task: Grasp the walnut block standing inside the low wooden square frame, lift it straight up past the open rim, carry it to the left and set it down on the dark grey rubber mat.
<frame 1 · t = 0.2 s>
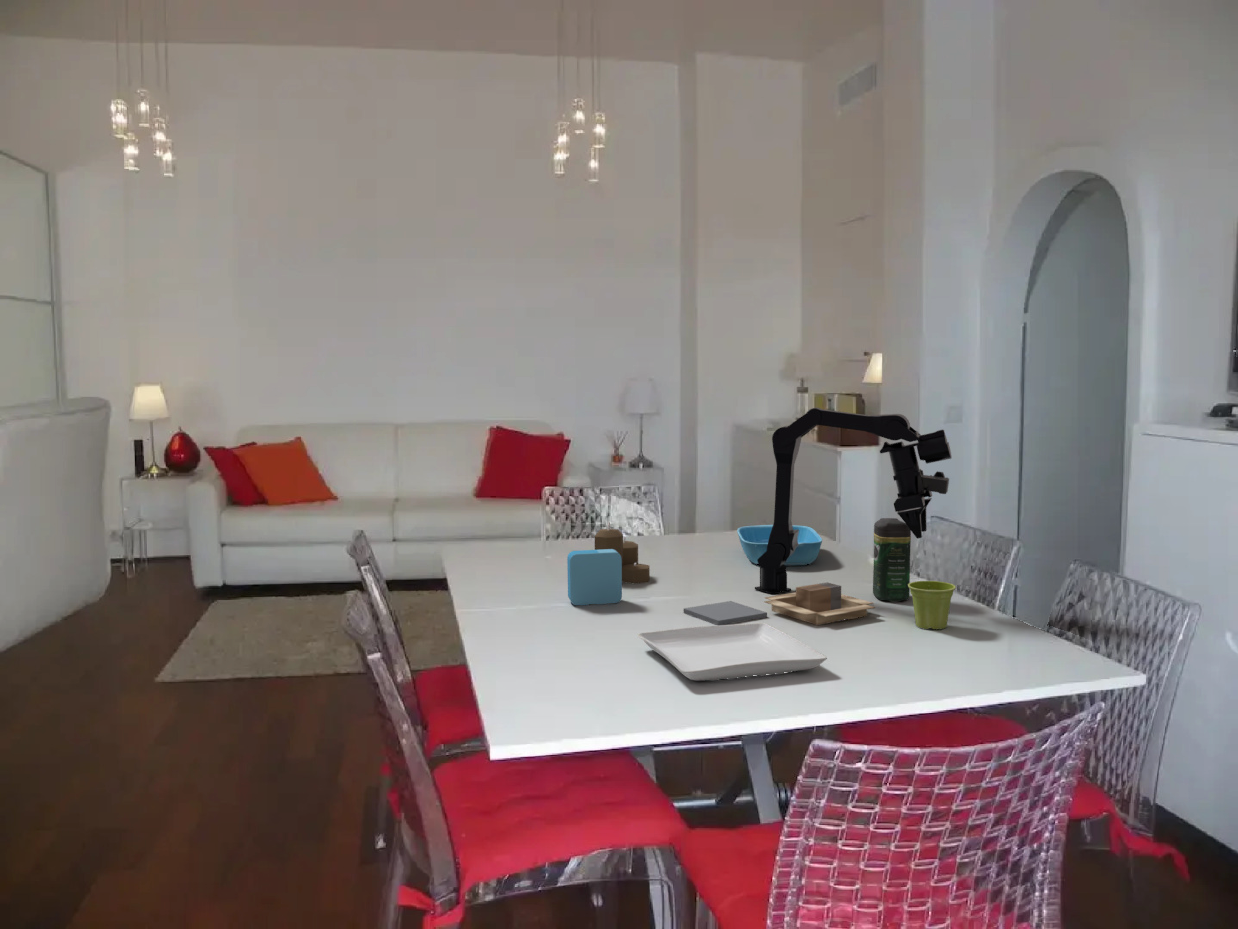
hand: (921, 534, 233), 15 cm above the table, tool pointing down, fingers open, 9 cm apart
candle: (619, 579, 262), on the table
casserole dish: (778, 558, 290), on the table
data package: (594, 603, 237), on the table
wooden square frame: (818, 613, 224), on the table
block: (818, 600, 224), in the wooden square frame
plant pot: (930, 627, 212), on the table
mat: (724, 615, 224), on the table
coffee jar: (891, 598, 238), on the table
square plate: (728, 664, 190), on the table
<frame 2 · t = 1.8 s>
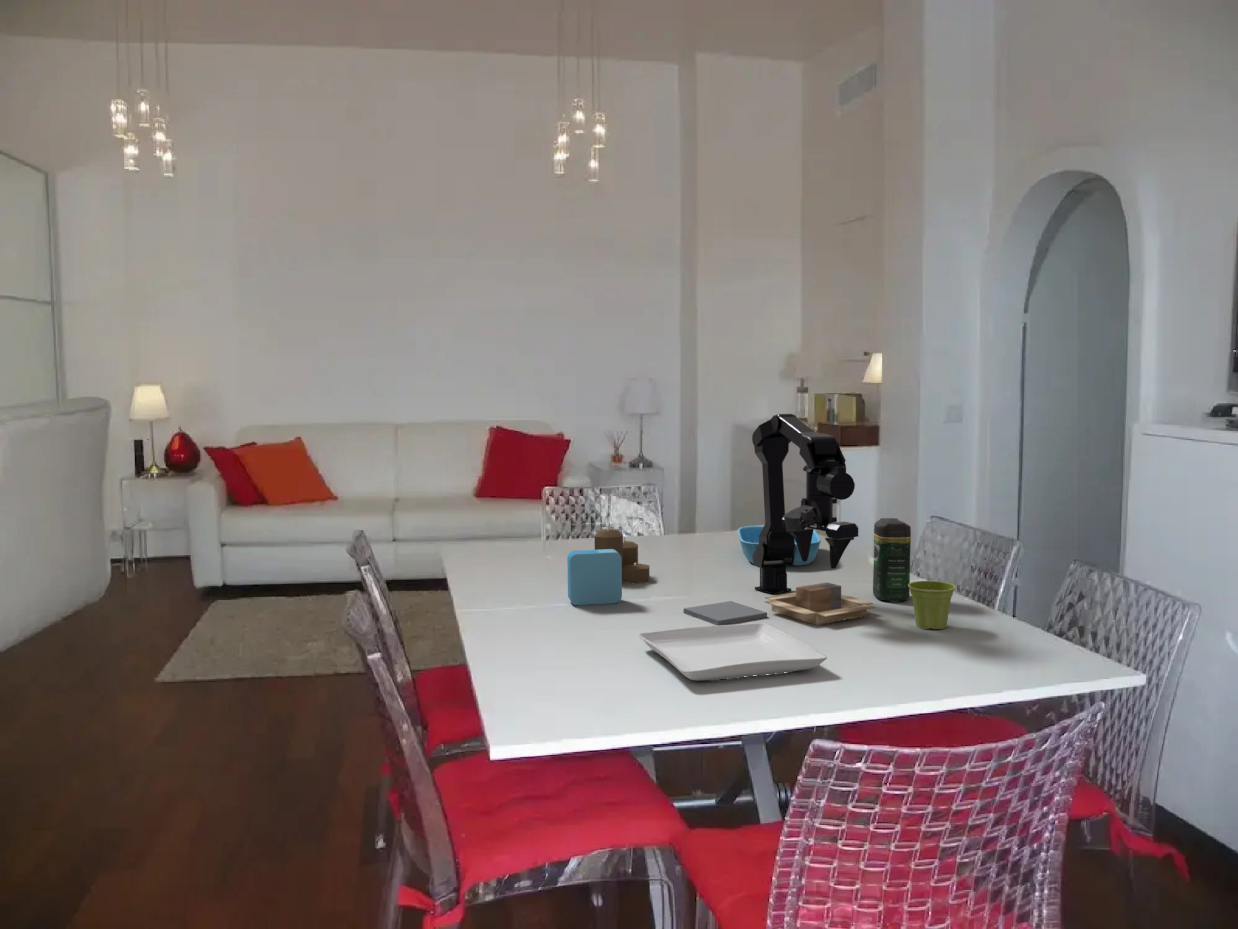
hand: (818, 564, 223), 11 cm above the table, tool pointing down, fingers open, 9 cm apart
nothing on the table moved.
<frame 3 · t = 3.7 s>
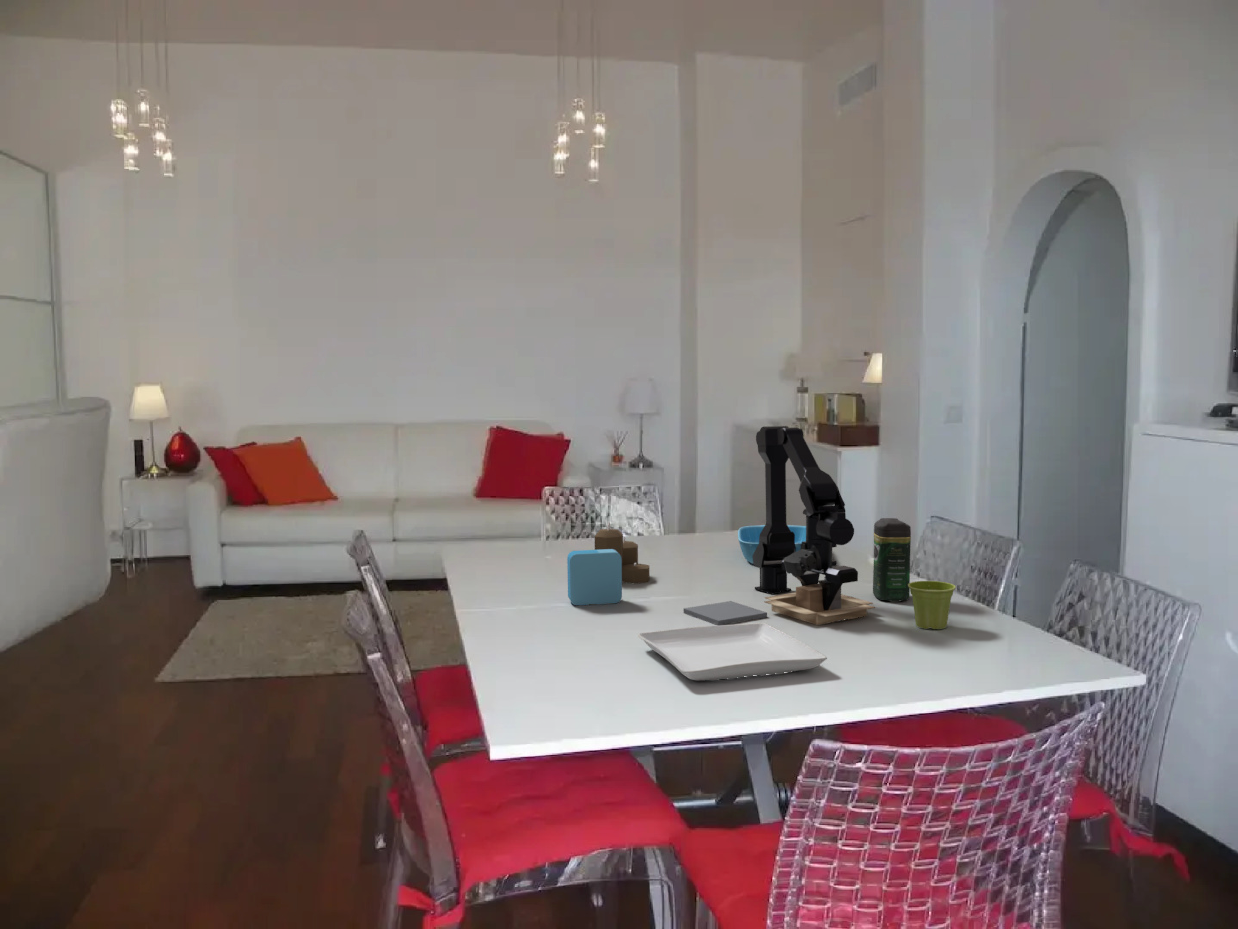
hand: (818, 607, 224), 1 cm above the table, tool pointing down, fingers closed on block, 4 cm apart
block: (818, 600, 224), in the wooden square frame, touching gripper
everything else where it was.
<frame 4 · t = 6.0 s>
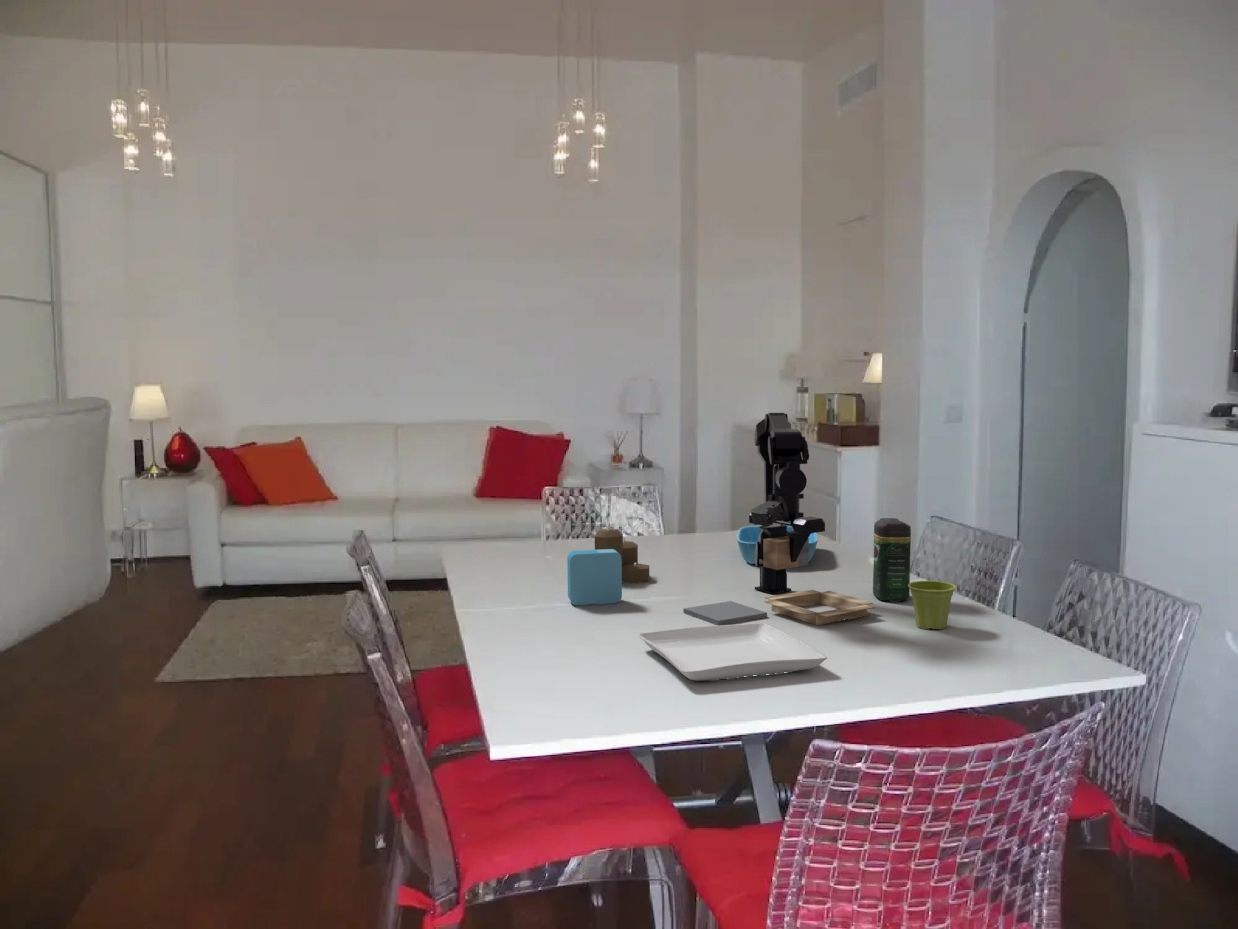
hand: (785, 560, 223), 12 cm above the table, tool pointing down, fingers closed on block, 4 cm apart
block: (786, 552, 223), point 14 cm above the table, touching gripper
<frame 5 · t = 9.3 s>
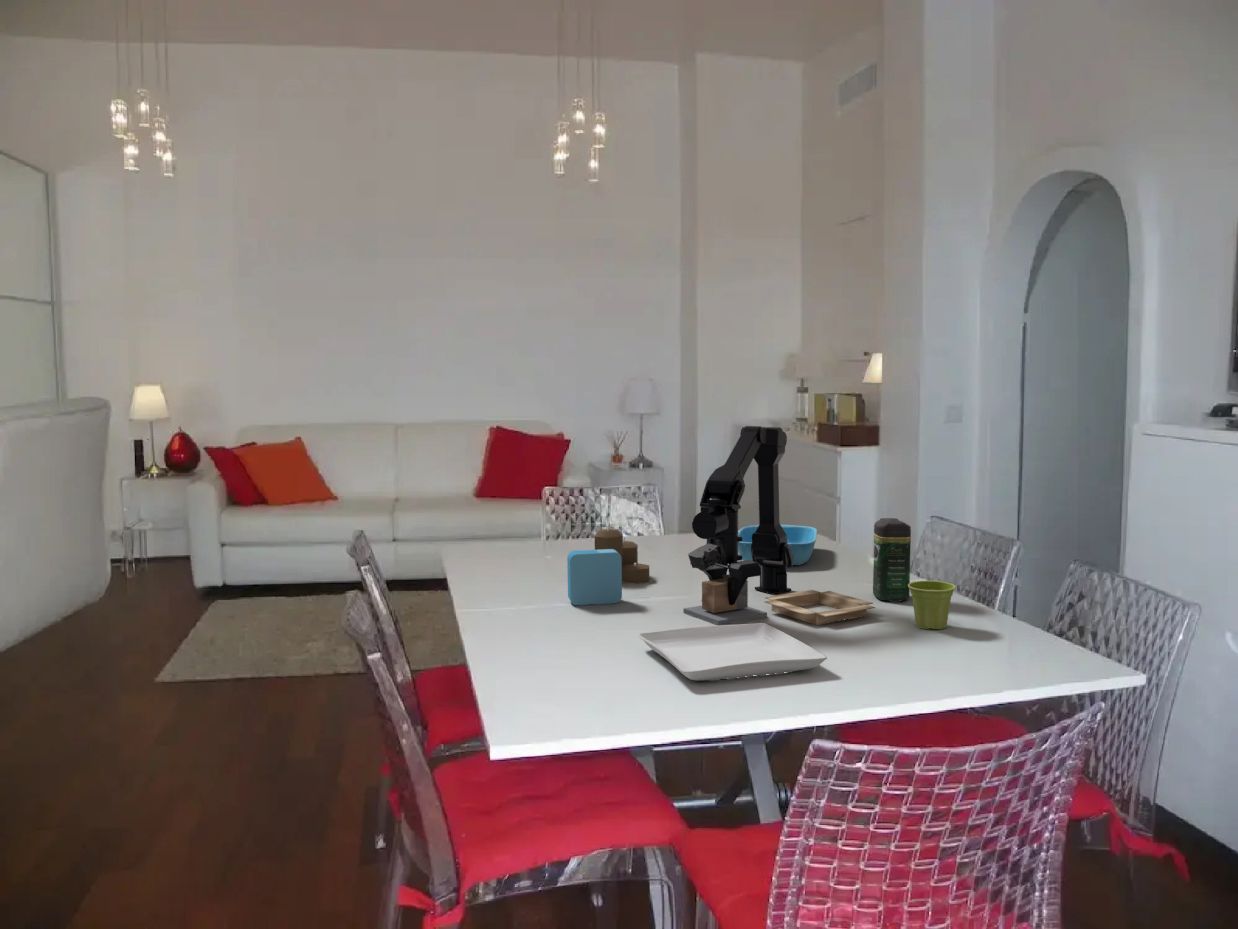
hand: (725, 602, 223), 3 cm above the table, tool pointing down, fingers closed on block, 4 cm apart
block: (724, 594, 223), point 4 cm above the table, touching gripper
when the fingers open (3 cm above the table, at t = 9.3 s): block stays where it is, resting on mat.
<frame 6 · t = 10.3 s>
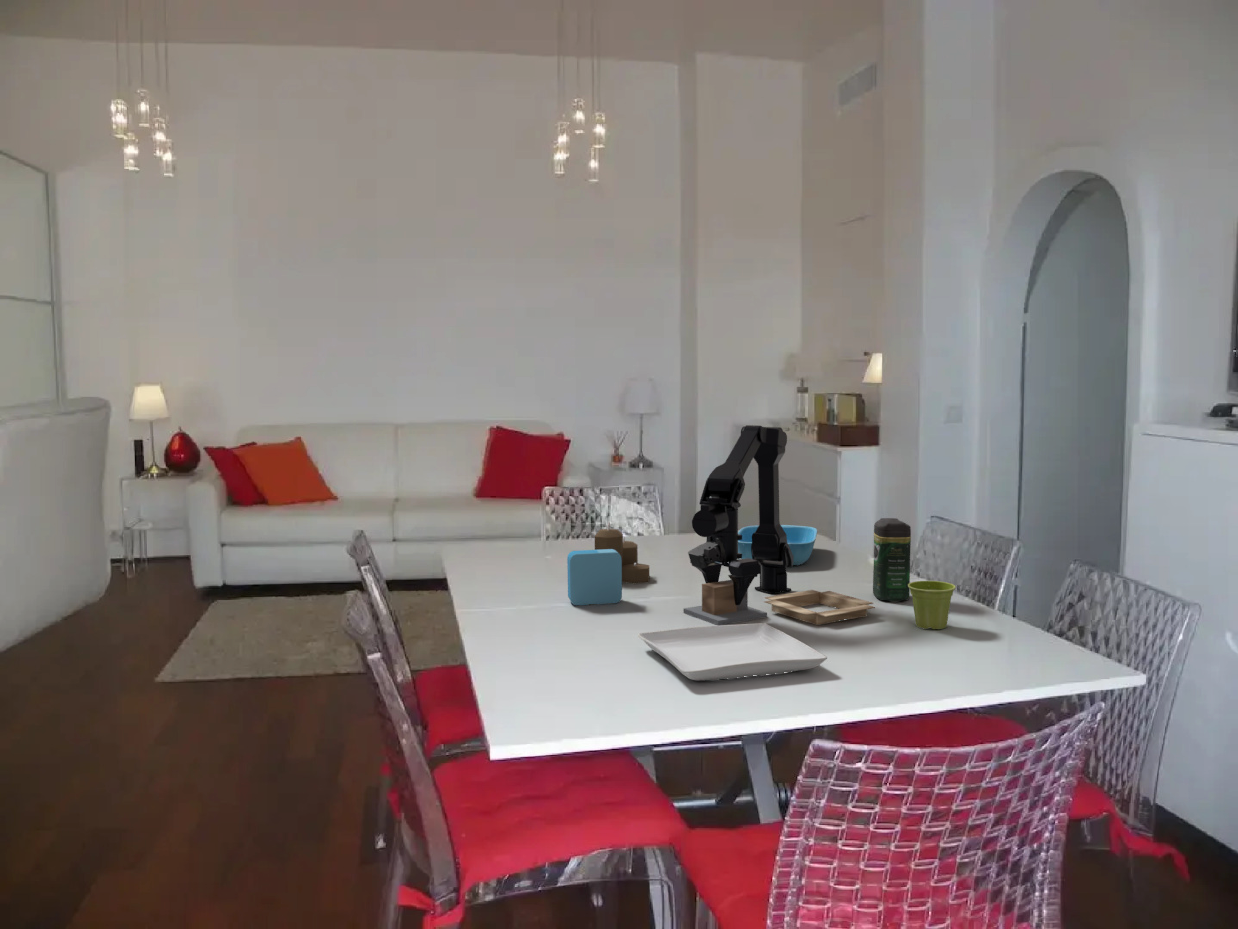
hand: (724, 600, 223), 3 cm above the table, tool pointing down, fingers open, 9 cm apart
block: (724, 597, 223), on the mat, point 4 cm above the table
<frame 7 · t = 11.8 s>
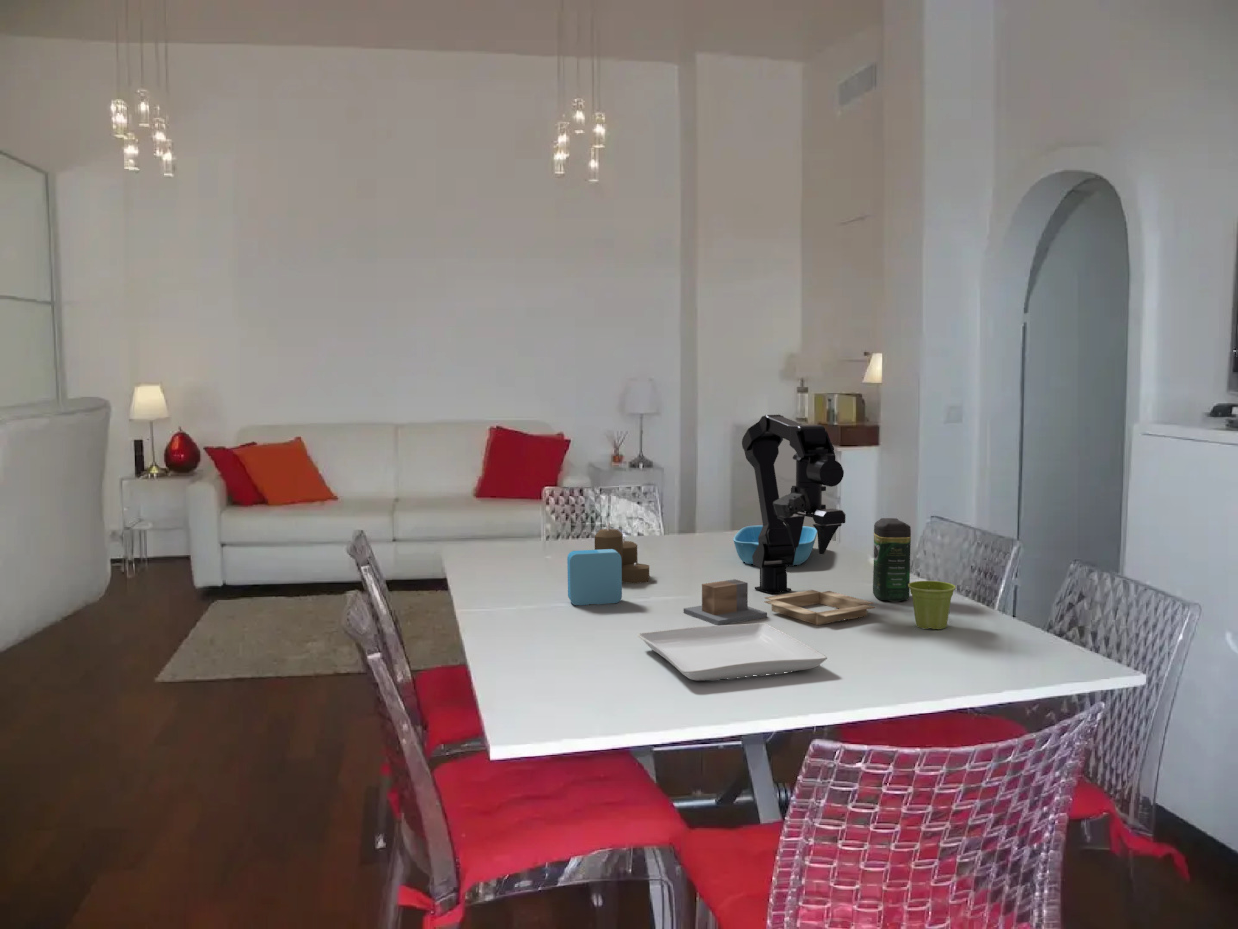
hand: (808, 550, 229), 13 cm above the table, tool pointing down, fingers open, 9 cm apart
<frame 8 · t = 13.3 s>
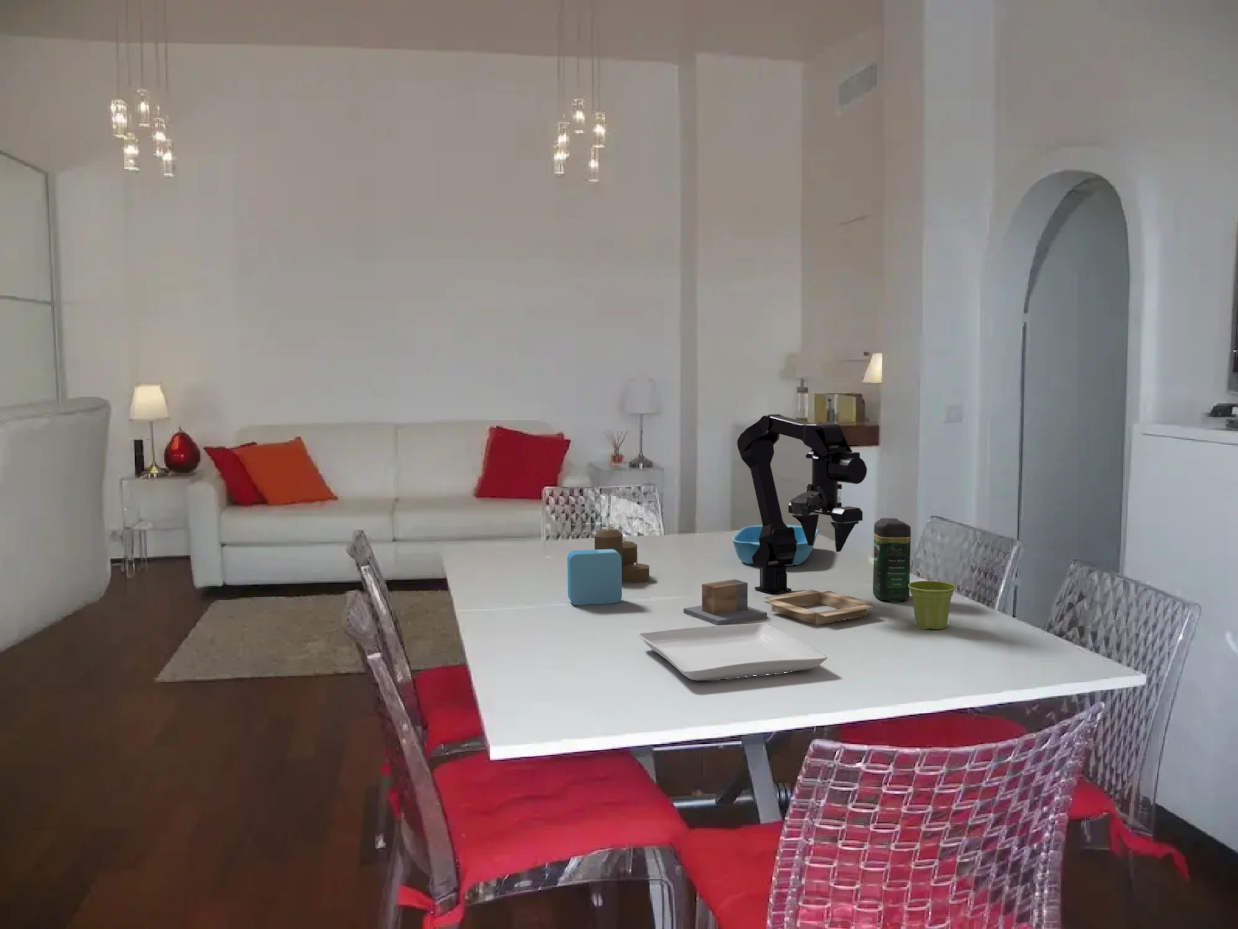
hand: (824, 548, 230), 13 cm above the table, tool pointing down, fingers open, 9 cm apart
at the end: block inside the target area on the mat (0.0 cm from its centre), point 4.0 cm above the mat's base; block tilted 0°; the gripper is holding nothing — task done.
